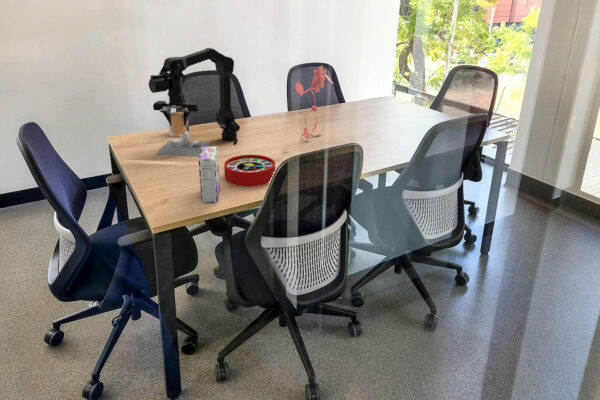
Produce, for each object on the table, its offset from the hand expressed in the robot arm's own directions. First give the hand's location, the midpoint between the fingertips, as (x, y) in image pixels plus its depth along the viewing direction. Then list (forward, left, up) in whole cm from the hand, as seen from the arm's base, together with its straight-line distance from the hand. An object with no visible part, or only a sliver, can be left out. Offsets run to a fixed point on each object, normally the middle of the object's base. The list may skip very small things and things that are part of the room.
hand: (178, 125), depth 207 cm
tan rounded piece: (0, 0, -3) cm, 3 cm away
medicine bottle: (+8, -24, -13) cm, 29 cm away
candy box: (-23, +41, -13) cm, 49 cm away
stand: (0, -4, -13) cm, 14 cm away
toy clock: (-34, +21, -14) cm, 43 cm away
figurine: (-59, -29, -13) cm, 67 cm away
